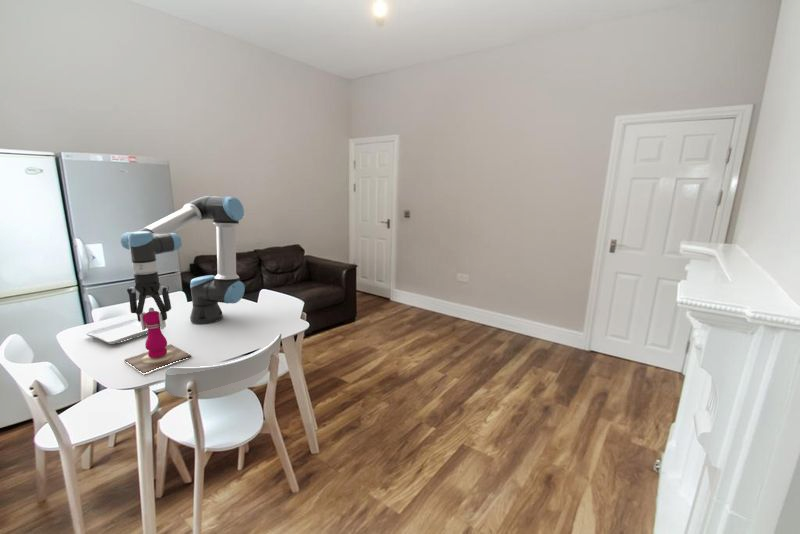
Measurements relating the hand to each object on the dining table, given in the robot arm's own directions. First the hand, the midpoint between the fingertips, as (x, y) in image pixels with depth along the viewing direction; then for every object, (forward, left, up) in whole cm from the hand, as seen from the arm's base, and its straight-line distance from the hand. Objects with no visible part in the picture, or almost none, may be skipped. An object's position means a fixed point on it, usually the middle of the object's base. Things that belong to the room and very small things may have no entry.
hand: (154, 328), depth 138 cm
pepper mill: (0, 0, -12) cm, 12 cm away
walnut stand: (0, 0, -14) cm, 14 cm away
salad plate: (-39, +2, -14) cm, 42 cm away
